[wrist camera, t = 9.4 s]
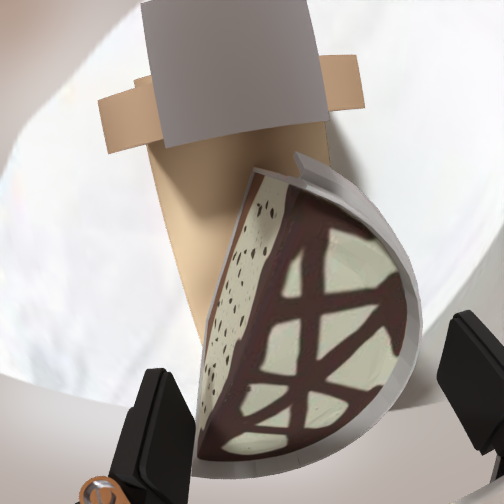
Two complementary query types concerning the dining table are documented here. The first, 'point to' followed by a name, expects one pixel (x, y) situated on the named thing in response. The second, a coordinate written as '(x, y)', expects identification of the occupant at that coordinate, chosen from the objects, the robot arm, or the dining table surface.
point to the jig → (218, 194)
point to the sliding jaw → (228, 74)
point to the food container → (303, 327)
